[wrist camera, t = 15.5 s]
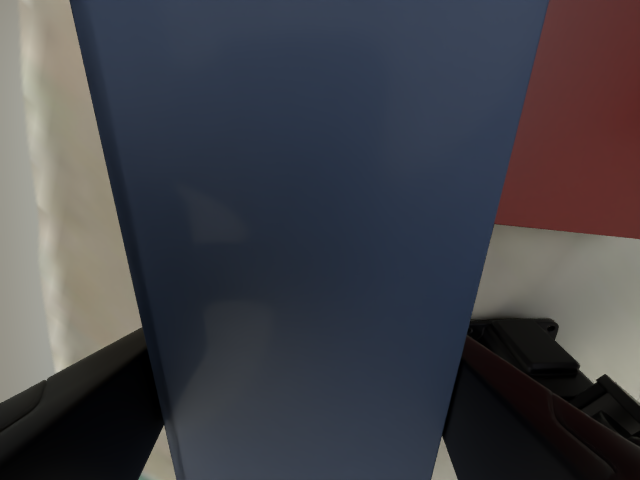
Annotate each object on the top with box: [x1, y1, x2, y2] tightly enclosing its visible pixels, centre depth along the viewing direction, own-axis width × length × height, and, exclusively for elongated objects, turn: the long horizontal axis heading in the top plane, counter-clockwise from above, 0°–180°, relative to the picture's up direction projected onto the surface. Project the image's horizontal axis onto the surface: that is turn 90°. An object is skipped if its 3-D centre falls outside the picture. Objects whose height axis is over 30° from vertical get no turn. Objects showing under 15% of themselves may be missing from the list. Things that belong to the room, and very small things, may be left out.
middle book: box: [70, 0, 549, 480], centre depth 8 cm, size 15×6×3 cm, turn 178°
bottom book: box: [494, 0, 640, 239], centre depth 14 cm, size 17×11×3 cm, turn 174°
